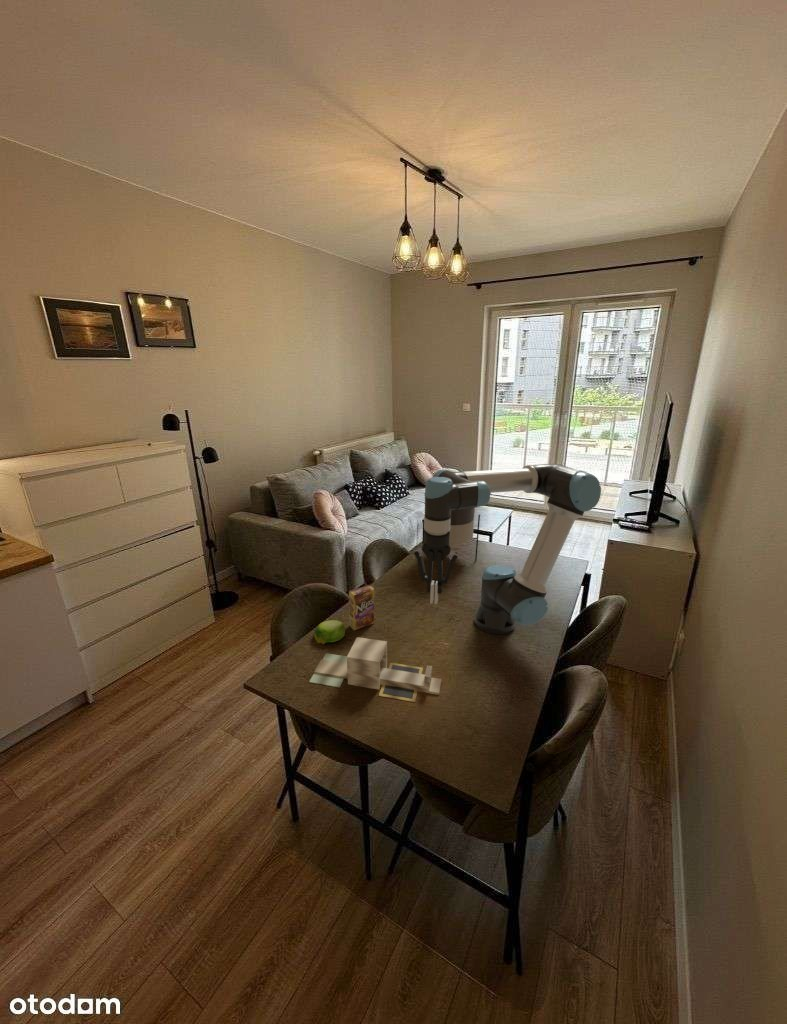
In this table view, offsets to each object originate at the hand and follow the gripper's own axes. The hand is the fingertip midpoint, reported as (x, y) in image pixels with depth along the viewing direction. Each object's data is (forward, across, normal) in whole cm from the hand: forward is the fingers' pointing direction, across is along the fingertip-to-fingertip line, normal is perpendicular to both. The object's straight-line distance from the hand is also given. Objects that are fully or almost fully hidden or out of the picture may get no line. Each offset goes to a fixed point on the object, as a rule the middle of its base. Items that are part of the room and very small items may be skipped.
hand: (434, 601), depth 128 cm
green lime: (+25, +38, -8) cm, 46 cm away
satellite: (+24, +16, +9) cm, 31 cm away
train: (+24, +11, +9) cm, 27 cm away
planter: (+25, +3, -81) cm, 85 cm away
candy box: (+25, +29, -17) cm, 42 cm away
